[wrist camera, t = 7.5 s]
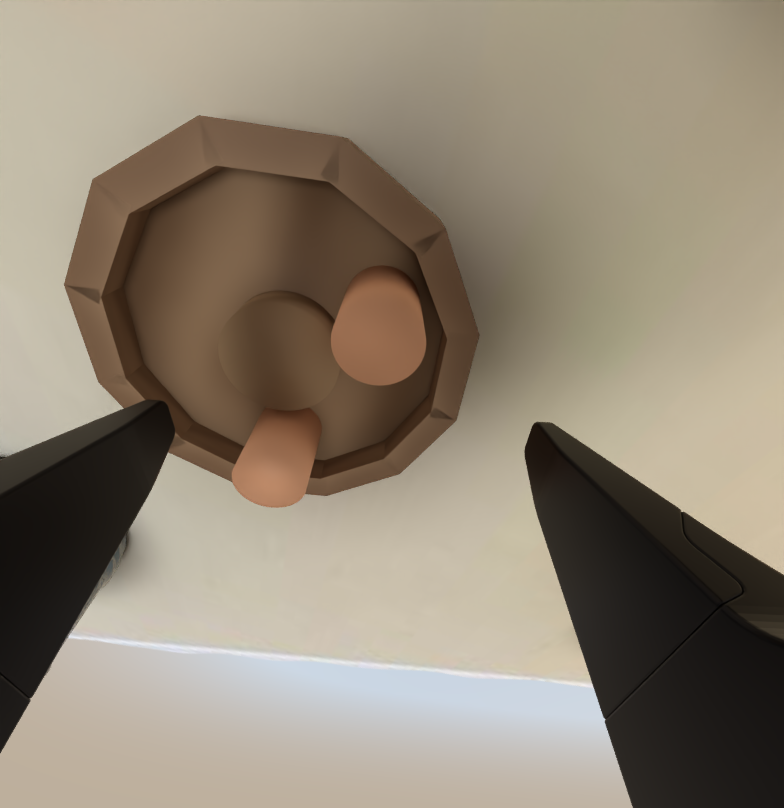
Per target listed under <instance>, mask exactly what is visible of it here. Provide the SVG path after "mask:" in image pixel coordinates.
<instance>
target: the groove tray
mask: <svg viewBox="0 0 784 808" xmlns="http://www.w3.org/2000/svg"><path fill="white" fill-rule="evenodd" d="M379 265H385V266H391V267H394V268H397V269H399V270H401V271H403V272H404V273H406V274H407V275H408V276H409V277H410V278H411V279H412V280H413V282H414V283H415V285H416V287H417V289H418V292H419V295H420V301H421V308H422V315H423V321H424V328H425V335H426V351H425V354H424V357H423V360H422V362H421V363H420V365H419V367H418V368H417V369H416V370H415V371H414V372H413V373H412V374H411V375H410V376H408V377H407V378H405V379H404V380H402V381H400V382H397V383H394V384H390V385H381V386H378V385H370V384H365V383H362V382H360V381H357V380H356V379H354V378H352V377H351V376H349V375H348V374H347V373H346V372H344V371H343V370H342V368H341V367H340V366H339V365H338V363H337V361H336V360H335V357H334V355H333V352H332V348H331V333H332V329H333V326H334V323H335V320H336V318H337V315H338V312H339V309H340V307H341V304H342V301H343V299H344V296H345V293H346V290H347V288H348V286H349V284H350V282H351V281H352V279H353V278H354V277H355V276H356V275H357V274H358V273H360V272H361V271H363V270H365V269H367V268H369V267H373V266H379ZM64 286H65V289H66V292H67V294H68V297H69V300H70V303H71V306H72V309H73V311H74V314H75V317H76V320H77V323H78V326H79V328H80V331H81V334H82V337H83V340H84V343H85V345H86V348H87V351H88V354H89V357H90V360H91V362H92V365H93V368H94V371H95V374H96V377H97V379H98V382H99V383H100V384H101V385H102V386H103V387H104V388H105V389H106V390H107V391H108V392H109V393H110V394H111V395H112V396H113V397H114V398H115V400H116V401H117V402H118V403H119V404H120V405H121V406H122V407H123V408H127V407H129V406H131V405H134V404H136V403H139V402H141V401H144V400H163V401H165V402H166V403H167V405H168V407H169V410H170V413H171V416H172V420H173V423H174V426H175V437H174V439H173V442H172V444H171V446H170V449H169V451H168V452H169V453H171V454H173V455H176V456H178V457H180V458H182V459H184V460H186V461H188V462H191V463H193V464H195V465H197V466H199V467H201V468H203V469H205V470H208V471H210V472H212V473H214V474H216V475H218V476H220V477H222V478H225V479H227V480H229V481H231V482H232V471H233V468H234V466H235V464H236V462H237V460H238V458H239V456H240V454H241V452H242V450H243V448H244V446H245V445H246V443H247V441H248V439H249V437H250V435H251V433H252V431H253V429H254V427H255V425H256V423H257V421H258V419H259V417H260V415H261V413H262V412H263V410H264V409H265V408H266V407H268V408H272V409H276V410H284V411H293V410H301V409H305V408H310V409H311V410H313V411H314V412H315V413H316V415H317V416H318V418H319V419H320V422H321V425H322V433H321V437H320V440H319V444H318V448H317V452H316V455H315V459H314V463H313V467H312V470H311V474H310V478H309V482H308V486H307V489H306V493H305V494H311V495H322V496H328V495H331V494H334V493H338V492H341V491H344V490H348V489H351V488H354V487H358V486H361V485H364V484H368V483H371V482H374V481H378V480H381V479H384V478H388V477H391V476H394V475H398V474H400V473H401V472H402V471H403V470H404V469H405V468H407V467H408V466H409V465H410V464H411V463H412V462H413V461H414V460H415V459H416V458H417V457H418V456H419V455H420V454H421V453H422V452H423V451H425V450H426V449H427V448H428V447H429V446H430V445H431V444H432V443H433V442H434V441H435V440H436V439H437V438H438V437H439V436H440V435H442V434H443V433H444V432H445V431H446V430H447V429H448V428H449V427H450V426H451V425H452V424H453V423H454V422H455V421H456V420H457V416H458V412H459V409H460V405H461V401H462V398H463V394H464V390H465V387H466V383H467V379H468V375H469V372H470V368H471V364H472V361H473V357H474V353H475V350H476V346H477V342H478V339H479V332H478V329H477V326H476V323H475V320H474V317H473V313H472V310H471V307H470V304H469V301H468V298H467V294H466V291H465V288H464V285H463V282H462V279H461V276H460V272H459V269H458V266H457V263H456V260H455V257H454V253H453V250H452V247H451V244H450V241H449V238H448V234H447V231H446V228H445V227H444V225H443V224H442V222H441V220H440V219H439V218H438V217H437V216H436V215H435V214H433V213H432V212H431V211H430V210H429V209H428V208H427V207H425V206H424V205H423V204H422V203H421V202H420V201H419V200H417V199H416V198H415V197H414V196H413V195H412V194H411V193H410V192H408V191H407V190H406V189H405V188H404V187H403V186H402V185H400V184H399V183H398V182H397V181H396V180H395V179H394V178H393V177H391V176H390V175H389V174H388V173H387V172H386V171H385V170H383V169H382V168H381V167H380V166H379V165H378V164H377V163H375V162H374V161H373V160H372V159H371V158H370V157H369V156H368V155H366V154H365V153H364V152H363V151H362V150H361V149H360V148H358V147H357V146H356V145H355V144H354V143H353V142H352V141H350V140H349V139H348V138H344V137H339V136H332V135H326V134H319V133H312V132H306V131H299V130H292V129H286V128H279V127H273V126H266V125H259V124H253V123H246V122H239V121H233V120H226V119H220V118H213V117H206V116H200V115H199V116H197V117H195V118H193V119H192V120H190V121H188V122H187V123H185V124H183V125H182V126H180V127H179V128H177V129H175V130H174V131H172V132H170V133H169V134H167V135H165V136H164V137H162V138H160V139H159V140H157V141H155V142H154V143H152V144H150V145H149V146H147V147H145V148H144V149H142V150H140V151H139V152H137V153H136V154H134V155H132V156H131V157H129V158H127V159H126V160H124V161H122V162H121V163H119V164H117V165H116V166H114V167H112V168H111V169H109V170H107V171H106V172H104V173H102V174H101V175H99V176H97V177H96V178H94V179H93V180H92V183H91V187H90V191H89V194H88V198H87V202H86V205H85V209H84V213H83V217H82V220H81V224H80V228H79V231H78V235H77V239H76V242H75V246H74V250H73V253H72V257H71V261H70V264H69V268H68V272H67V276H66V279H65V283H64Z"/></svg>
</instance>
